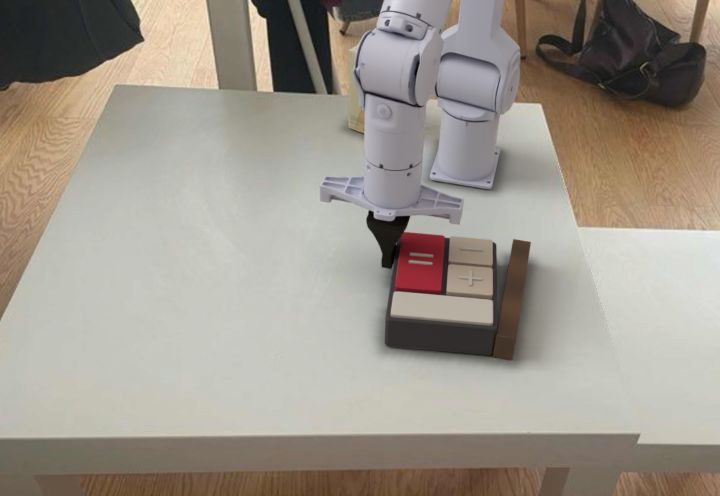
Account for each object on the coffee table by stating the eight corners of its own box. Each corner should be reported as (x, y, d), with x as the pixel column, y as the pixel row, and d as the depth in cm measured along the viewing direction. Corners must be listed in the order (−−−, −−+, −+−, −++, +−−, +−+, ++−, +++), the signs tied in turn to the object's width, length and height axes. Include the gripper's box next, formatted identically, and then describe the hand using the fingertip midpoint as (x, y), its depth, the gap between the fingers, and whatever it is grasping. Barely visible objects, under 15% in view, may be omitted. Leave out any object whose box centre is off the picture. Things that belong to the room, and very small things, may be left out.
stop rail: (509, 259, 93) (513, 238, 91) (527, 262, 93) (531, 241, 91) (492, 357, 82) (496, 335, 80) (512, 360, 82) (516, 339, 80)
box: (373, 138, 109) (375, 59, 101) (346, 128, 111) (346, 49, 103) (394, 122, 113) (397, 45, 105) (368, 112, 114) (369, 35, 106)
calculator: (497, 235, 90) (498, 323, 79) (492, 267, 93) (493, 356, 82) (398, 226, 90) (385, 313, 79) (396, 258, 93) (383, 346, 82)
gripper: (309, 164, 77) (313, 274, 87) (460, 189, 76) (448, 298, 86) (329, 126, 82) (331, 234, 91) (471, 150, 81) (459, 256, 91)
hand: (389, 262), depth 89 cm, fingers closed, pressing on calculator
